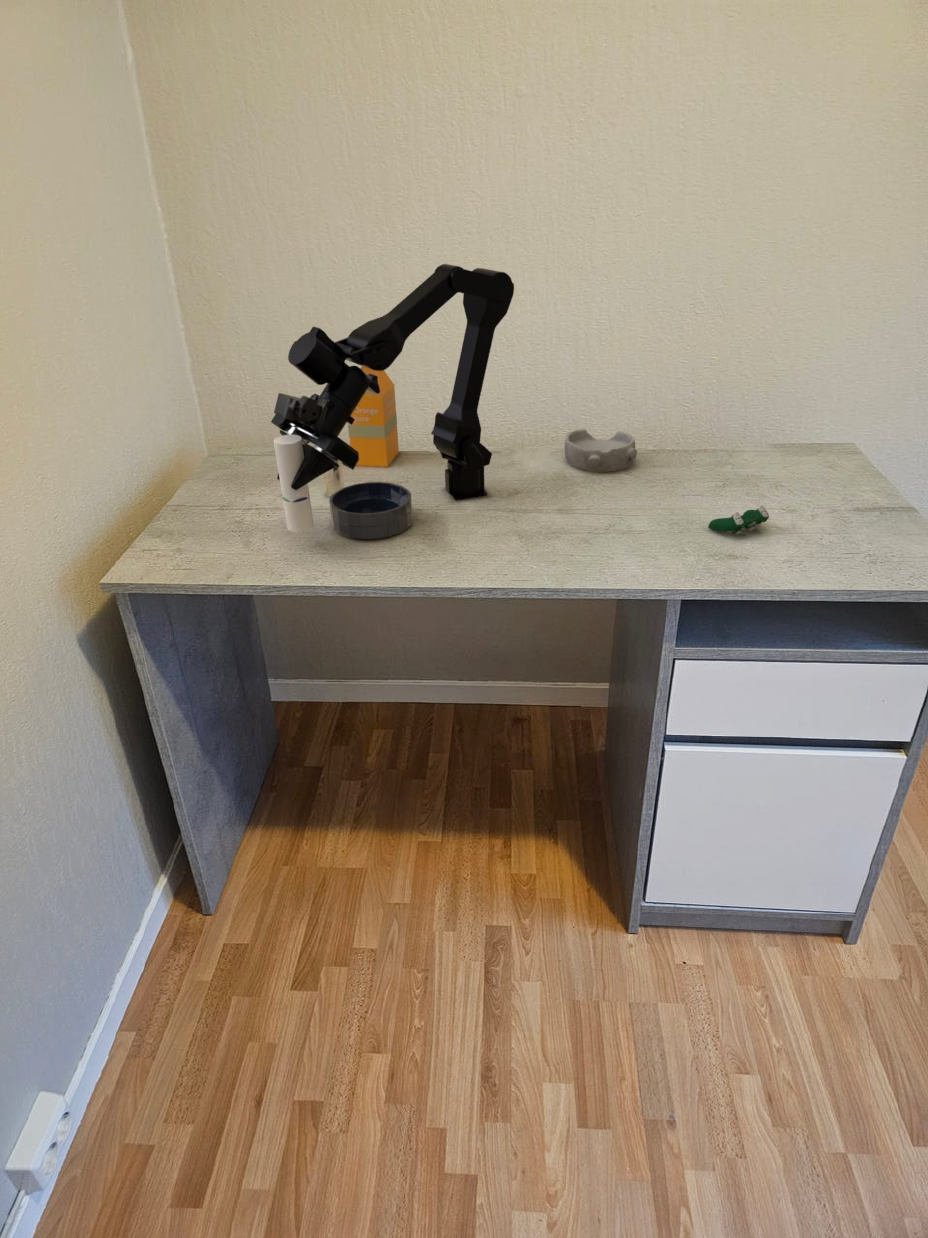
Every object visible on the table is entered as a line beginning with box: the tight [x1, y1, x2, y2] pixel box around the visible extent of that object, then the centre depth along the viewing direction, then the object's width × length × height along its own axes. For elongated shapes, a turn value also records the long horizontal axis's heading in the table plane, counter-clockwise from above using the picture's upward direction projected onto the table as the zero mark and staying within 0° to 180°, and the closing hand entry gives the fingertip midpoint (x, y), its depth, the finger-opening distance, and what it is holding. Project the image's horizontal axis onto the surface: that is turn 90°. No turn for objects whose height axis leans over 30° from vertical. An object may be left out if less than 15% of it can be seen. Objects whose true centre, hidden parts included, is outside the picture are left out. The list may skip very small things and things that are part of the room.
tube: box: [273, 435, 315, 534], centre depth 134 cm, size 4×4×15 cm
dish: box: [564, 428, 638, 472], centre depth 168 cm, size 14×14×5 cm
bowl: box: [328, 481, 414, 540], centre depth 145 cm, size 14×14×5 cm
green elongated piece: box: [707, 505, 770, 535], centre depth 140 cm, size 9×4×6 cm
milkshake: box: [322, 460, 345, 498], centre depth 156 cm, size 4×5×10 cm
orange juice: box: [347, 366, 400, 468], centre depth 169 cm, size 8×9×20 cm
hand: (286, 484), depth 133 cm, fingers closed on tube, 4 cm apart
